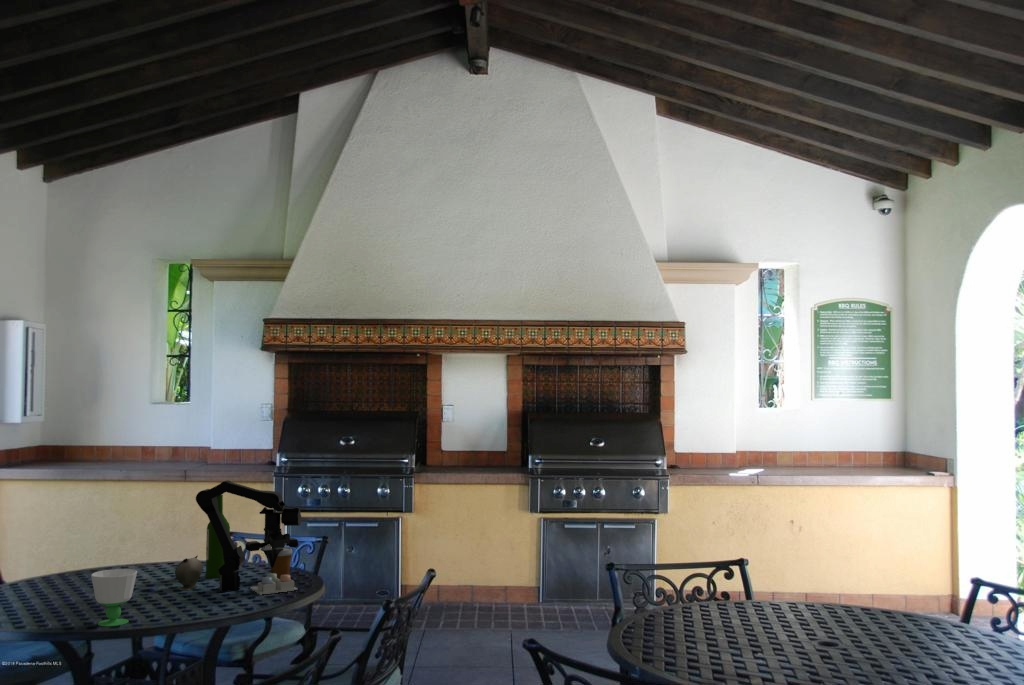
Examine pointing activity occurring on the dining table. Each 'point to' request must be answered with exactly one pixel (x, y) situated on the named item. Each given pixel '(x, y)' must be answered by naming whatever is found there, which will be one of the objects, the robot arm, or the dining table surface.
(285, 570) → the disposable coffee cup
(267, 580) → the slate button
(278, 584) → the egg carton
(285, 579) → the terracotta button
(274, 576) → the sage button
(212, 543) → the wine bottle
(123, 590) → the cup
